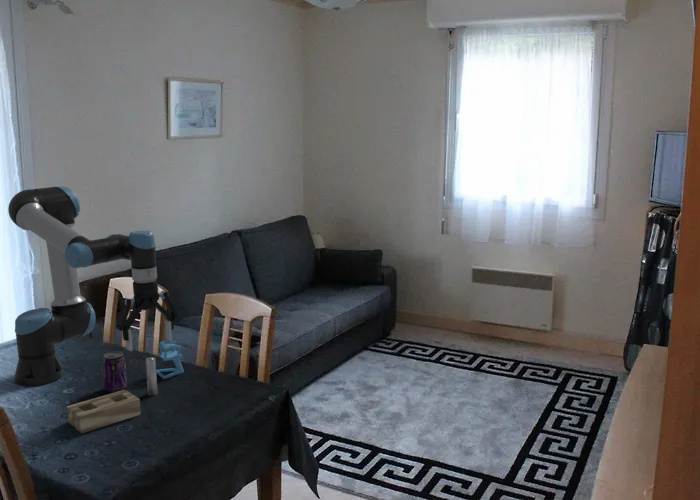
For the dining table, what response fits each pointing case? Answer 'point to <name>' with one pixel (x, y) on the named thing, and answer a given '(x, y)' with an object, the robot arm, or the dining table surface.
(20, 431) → the dining table surface
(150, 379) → the pin
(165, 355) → the chair
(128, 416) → the hole block
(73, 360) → the dining table surface
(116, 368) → the beverage can
